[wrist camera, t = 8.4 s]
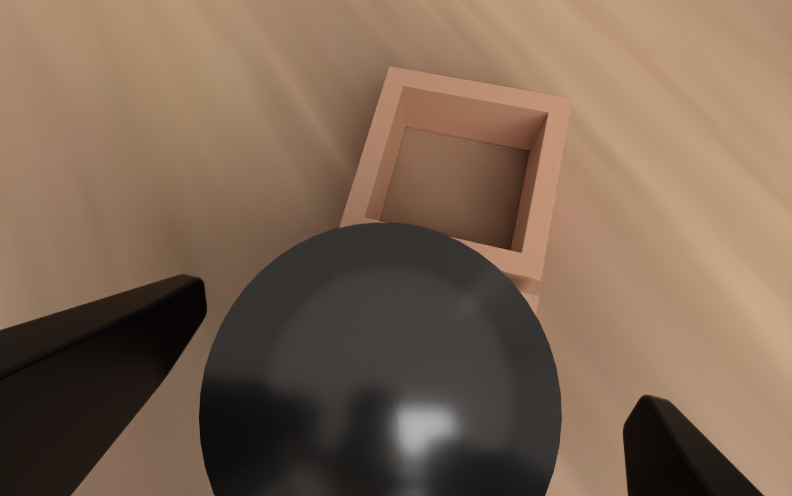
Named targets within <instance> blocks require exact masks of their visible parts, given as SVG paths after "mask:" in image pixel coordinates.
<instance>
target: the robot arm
mask: <svg viewBox="0 0 792 496" xmlns="http://www.w3.org/2000/svg"><path fill="white" fill-rule="evenodd" d="M206 313H207V303H206V294H205V285H204V282H203V280H202V279H201V278H199V277H196V276H192V275H188V274H180V275H177V276H174V277H171V278H167V279H164V280H161V281H158V282H154V283H151V284H148V285H145V286H142V287H138V288H135V289H132V290H129V291H125V292H122V293H119V294H116V295H112V296H109V297H106V298H103V299H99V300H96V301H93V302H90V303H87V304H83V305H80V306H77V307H74V308H70V309H67V310H64V311H61V312H57V313H54V314H51V315H48V316H44V317H41V318H38V319H35V320H31V321H28V322H25V323H22V324H19V325H15V326H12V327H9V328H6V329H2V330H0V496H71V495H72V493H73V492H74V491H75V490H76V488H77V487H78V486H79V485H80V484H81V482H82V481H83V480H84V479H85V477H86V476H87V475H88V474H89V472H90V471H91V470H92V469H93V467H94V466H95V465H96V464H97V462H98V461H99V460H100V459H101V458H102V456H103V455H104V454H105V453H106V451H107V450H108V449H109V448H110V446H111V445H112V444H113V443H114V441H115V440H116V439H117V438H118V436H119V435H120V434H121V433H122V432H123V430H124V429H125V428H126V427H127V425H128V424H129V423H130V422H131V420H132V419H133V418H134V417H135V415H136V414H137V413H138V412H139V410H140V409H141V408H142V407H143V406H144V404H145V403H146V402H147V401H148V399H149V398H150V397H151V396H152V394H153V393H154V392H155V391H156V389H157V388H158V387H159V386H160V384H161V383H162V382H163V380H164V379H165V378H166V376H167V375H168V374H169V372H170V371H171V369H172V368H173V366H174V365H175V363H176V362H177V360H178V359H179V357H180V356H181V354H182V352H183V351H184V349H185V348H186V346H187V345H188V343H189V342H190V340H191V339H192V337H193V336H194V334H195V333H196V331H197V329H198V328H199V326H200V325H201V323H202V322H203V320H204V318H205V316H206ZM623 443H624V455H625V467H626V479H627V491H628V496H764V495H763V494H762V493H761V492H760V491H759V490H758V489H757V488H756V487H755V486H754V485H753V484H752V483H751V482H750V481H749V480H748V479H747V478H746V477H745V476H744V475H743V474H742V473H741V472H740V471H739V470H738V469H737V468H736V467H735V466H734V465H733V464H732V463H731V462H730V461H729V460H728V459H727V458H726V457H725V456H724V455H723V454H722V453H721V452H720V451H719V450H718V449H717V448H716V447H715V446H714V445H713V444H712V443H711V442H710V441H709V440H708V439H707V438H706V437H705V436H704V435H703V434H702V433H701V432H700V431H699V430H698V429H697V428H696V427H695V426H694V425H693V424H692V423H691V422H690V421H689V420H688V419H687V418H686V417H685V416H684V415H683V414H682V413H681V412H680V411H679V410H678V409H677V408H676V407H675V406H674V405H673V404H672V403H671V402H670V401H668V400H666V399H663V398H659V397H655V396H652V395H643V396H642V397H641V398H640V399H639V400H638V402H637V404H636V405H635V407H634V408H633V410H632V412H631V413H630V415H629V417H628V418H627V420H626V422H625V424H624V428H623Z"/></svg>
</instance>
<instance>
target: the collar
mask: <svg viewBox="0 0 792 496" xmlns="http://www.w3.org/2000/svg"><path fill="white" fill-rule="evenodd" d="M572 100H573V98H567V97H561V96H556V95H550V94H544V93H539V92H533V91H527V90H522V89H516V88H510V87H505V86H499V85H493V84H488V83H482V82H476V81H471V80H465V79H459V78H454V77H448V76H442V75H437V74H431V73H425V72H420V71H414V70H408V69H403V68H397V67H391V66H389V69H388V72H387V75H386V78H385V81H384V85H383V88H382V91H381V94H380V97H379V101H378V104H377V107H376V110H375V114H374V117H373V120H372V123H371V126H370V130H369V133H368V136H367V139H366V143H365V146H364V149H363V152H362V155H361V159H360V162H359V165H358V168H357V172H356V175H355V178H354V181H353V184H352V188H351V191H350V194H349V197H348V200H347V204H346V207H345V210H344V213H343V217H342V220H341V223H340V226H339V228H341V227H346V226H350V225H355V224H365V223H376V222H380V223H387V222H382V221H380V217H381V214H382V210H383V207H384V203H385V200H386V196H387V193H388V189H389V186H390V182H391V179H392V175H393V172H394V168H395V165H396V161H397V158H398V154H399V151H400V147H401V144H402V140H403V137H404V133H405V130H406V127H410V128H415V129H420V130H425V131H431V132H436V133H441V134H446V135H451V136H456V137H461V138H467V139H472V140H477V141H482V142H487V143H492V144H497V145H503V146H508V147H513V148H518V149H523V150H528V151H530V154H529V159H528V164H527V169H526V174H525V179H524V184H523V189H522V194H521V199H520V204H519V209H518V214H517V220H516V225H515V230H514V235H513V240H512V245H511V250H506V249H502V248H497V247H493V246H488V245H484V244H479V243H475V242H471V241H466V240H462V239H457V238H453V237H451V238H453V239H456V240H458V241H460V242H462V243H463V244H465V245H467V246H469V247H470V248H472V249H474V250H475V251H477V252H479V253H480V254H481V255H482V256H484V257H485V258H486V259H488V260H489V261H490V262H491V263H493V264H494V265H495V266H497V267H498V268H499V269H500V270H501V271H502V272H503V273H504V274H505V275H506V276H507V277H508V278H509V279H510V280H511V281H512V282H513V284H514V285H515V286H516V288H517V289H518V290H519V291H520V292H524V293H525V292H526V291H528V290H529V289H530V288H532V287H533V286H534V285H535V284H537V283H538V282H539V281H541V278H542V272H543V266H544V261H545V255H546V249H547V243H548V238H549V232H550V226H551V220H552V215H553V209H554V203H555V198H556V192H557V186H558V180H559V175H560V169H561V163H562V157H563V152H564V146H565V140H566V134H567V129H568V123H569V117H570V112H571V106H572Z"/></svg>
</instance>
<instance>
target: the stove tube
mask: <svg viewBox="0 0 792 496" xmlns="http://www.w3.org/2000/svg"><path fill="white" fill-rule="evenodd" d="M561 420H562V416H561V393H560V387H559V381H558V375H557V369H556V365H555V362H554V359H553V355H552V352H551V349H550V345H549V343H548V340H547V338H546V336H545V333H544V331H543V329H542V327H541V324H540V322H539V320H538V319H537V317H536V315H535V314H534V312H533V310H532V309H531V307H530V305H529V304H528V302H527V300H526V299H525V298H524V297H523V295H522V294H521V293H520V291H519V290H518V289H517V288H516V286H515V285H514V284H513V282H512V281H511V280H510V279H509V278H508V277H507V276H506V275H505V274H504V273H503V272H502V271H501V270H500V269H499V268H498V267H497V266H495V265H494V264H493V263H491V262H490V261H489V260H488V259H486V258H485V257H484V256H482V255H481V254H480V253H479V252H477V251H475V250H474V249H472V248H470V247H469V246H467V245H465V244H463V243H462V242H460V241H458V240H456V239H453V238H451V237H449V236H446V235H444V234H442V233H440V232H436V231H433V230H429V229H426V228H423V227H419V226H413V225H407V224H400V223H380V222H376V223H365V224H355V225H350V226H346V227H341V228H336V229H333V230H330V231H327V232H325V233H322V234H319V235H316V236H314V237H312V238H310V239H308V240H306V241H304V242H302V243H299V244H297V245H296V246H294V247H293V248H291V249H289V250H288V251H286V252H285V253H283V254H282V255H280V256H279V257H277V258H276V259H275V260H274V261H273V262H271V263H270V264H269V265H268V266H267V267H265V268H264V269H263V270H262V271H261V272H260V273H259V274H258V275H257V276H256V277H255V278H254V279H253V280H252V281H251V282H250V283H249V284H248V285H247V286H246V288H245V289H244V290H243V292H242V293H241V294H240V296H239V297H238V298H237V300H236V301H235V302H234V304H233V305H232V307H231V309H230V310H229V312H228V314H227V315H226V317H225V319H224V321H223V322H222V324H221V326H220V328H219V331H218V333H217V335H216V338H215V340H214V342H213V344H212V347H211V350H210V354H209V357H208V360H207V363H206V367H205V371H204V376H203V382H202V388H201V393H200V410H199V425H200V441H201V447H202V453H203V458H204V463H205V468H206V471H207V475H208V478H209V481H210V484H211V487H212V490H213V493H214V495H215V496H545V494H546V492H547V489H548V486H549V483H550V480H551V478H552V475H553V472H554V468H555V463H556V459H557V454H558V449H559V444H560V432H561Z"/></svg>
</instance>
